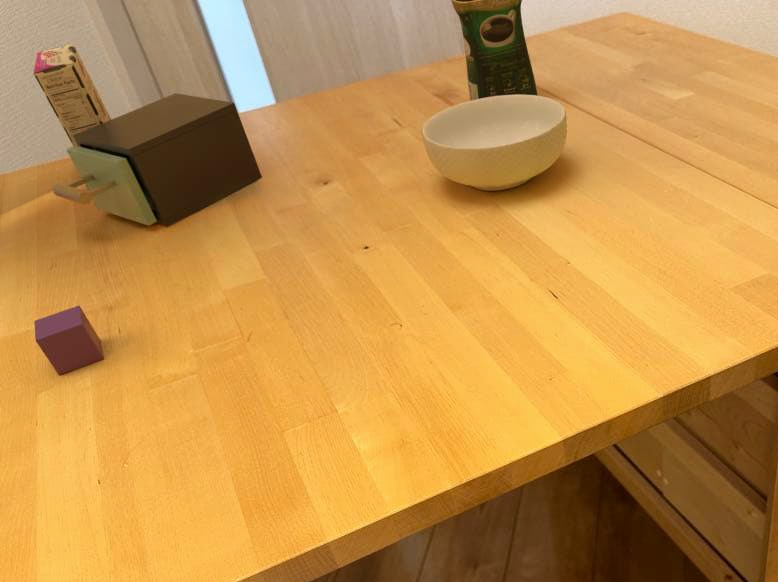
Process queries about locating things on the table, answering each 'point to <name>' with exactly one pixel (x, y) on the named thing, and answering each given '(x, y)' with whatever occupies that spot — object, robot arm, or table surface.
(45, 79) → the candy bar box
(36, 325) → the maroon wooden cube
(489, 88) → the green coffee bag
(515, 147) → the cereal bowl
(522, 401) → the table surface
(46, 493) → the table surface
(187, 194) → the brown drawer cabinet
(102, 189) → the light green drawer
